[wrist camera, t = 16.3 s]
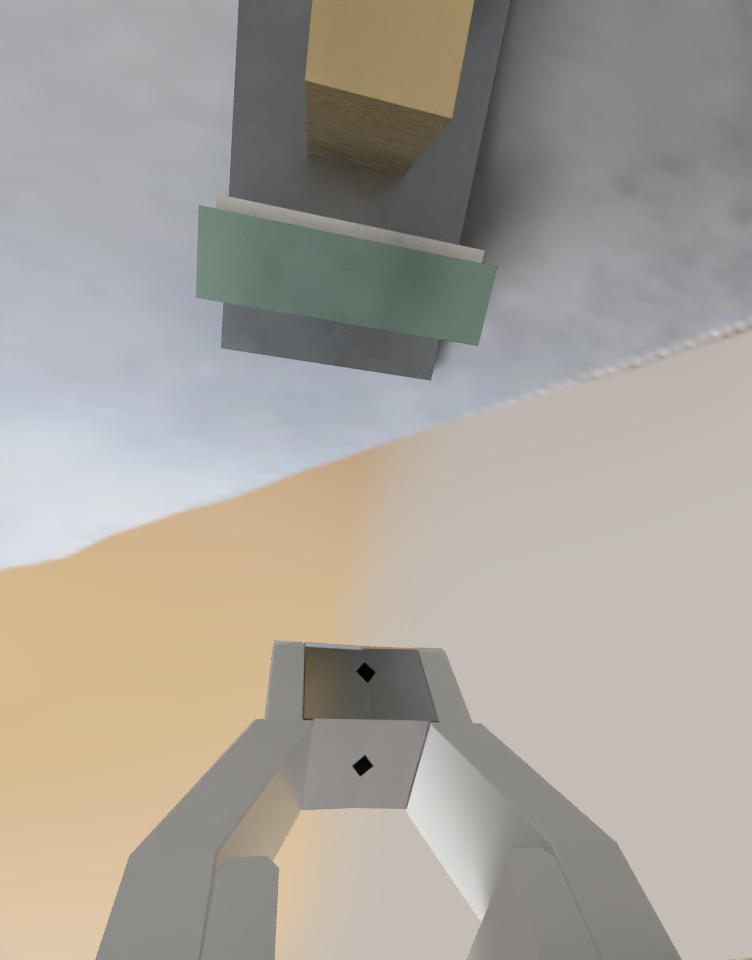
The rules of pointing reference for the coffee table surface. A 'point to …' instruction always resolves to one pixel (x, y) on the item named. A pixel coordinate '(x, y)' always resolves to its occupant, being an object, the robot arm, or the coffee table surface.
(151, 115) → the coffee table surface
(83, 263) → the coffee table surface
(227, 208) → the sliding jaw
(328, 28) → the brass block
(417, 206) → the vise
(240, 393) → the coffee table surface
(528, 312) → the coffee table surface
